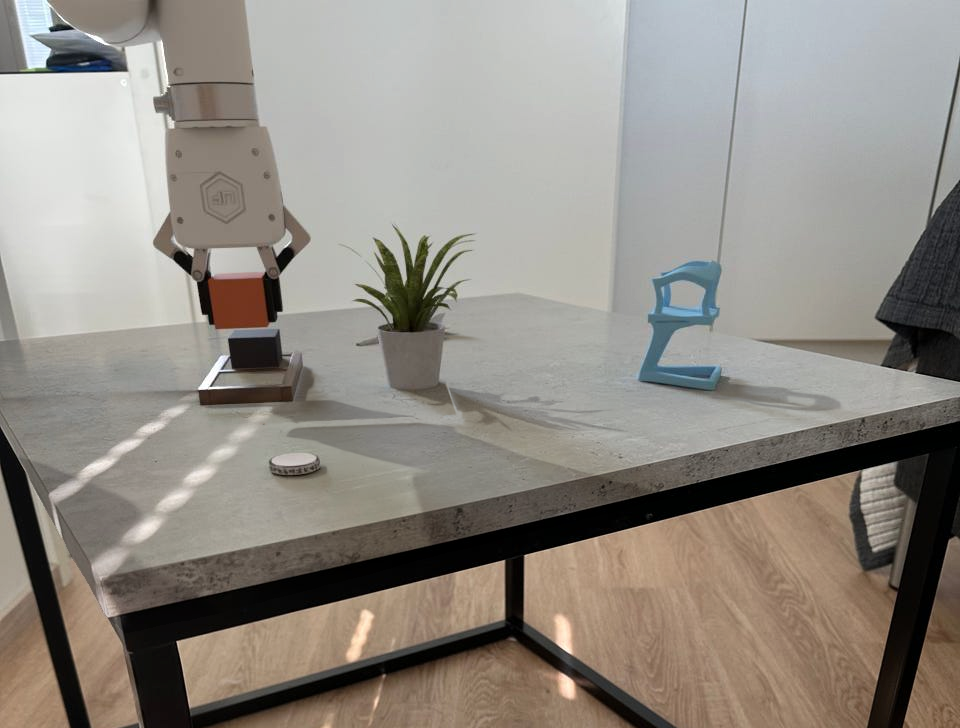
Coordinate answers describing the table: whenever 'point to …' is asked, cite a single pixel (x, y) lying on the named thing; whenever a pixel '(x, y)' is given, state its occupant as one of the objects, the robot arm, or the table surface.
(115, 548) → the table surface
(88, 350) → the table surface
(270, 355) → the black block
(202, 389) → the frame
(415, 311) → the house plant
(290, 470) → the white round disc
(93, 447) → the table surface
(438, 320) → the toy airplane
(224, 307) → the terracotta cube
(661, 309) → the chair
